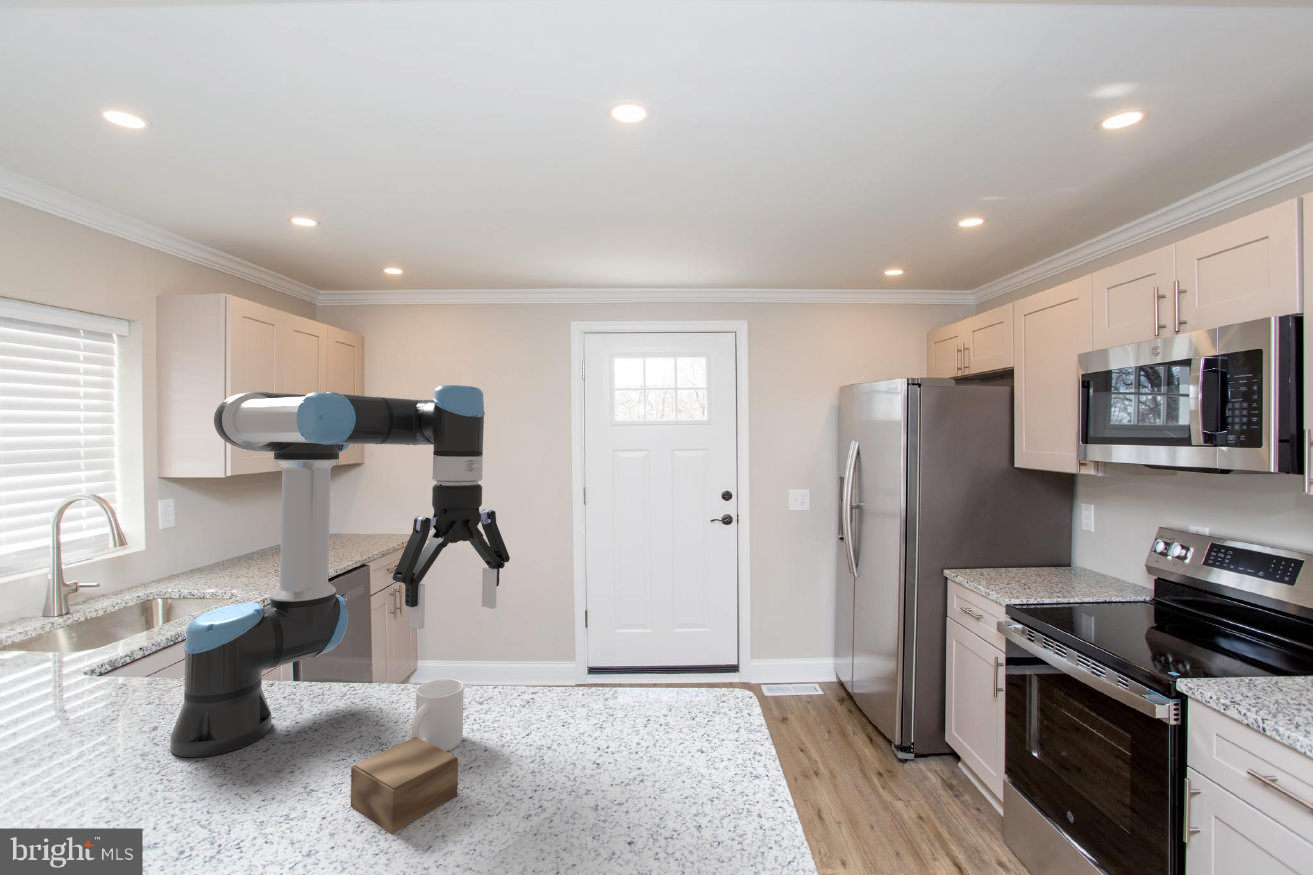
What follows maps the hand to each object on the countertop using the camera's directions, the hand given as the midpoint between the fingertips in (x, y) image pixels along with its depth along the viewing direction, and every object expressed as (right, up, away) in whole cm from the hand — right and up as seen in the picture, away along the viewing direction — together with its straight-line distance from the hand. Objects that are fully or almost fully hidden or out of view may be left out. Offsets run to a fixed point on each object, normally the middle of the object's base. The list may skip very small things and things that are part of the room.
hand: (454, 616), depth 93 cm
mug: (-9, -28, +13) cm, 32 cm away
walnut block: (-7, -28, -2) cm, 29 cm away
